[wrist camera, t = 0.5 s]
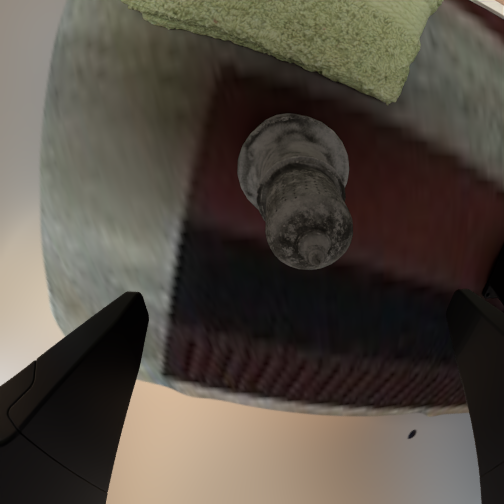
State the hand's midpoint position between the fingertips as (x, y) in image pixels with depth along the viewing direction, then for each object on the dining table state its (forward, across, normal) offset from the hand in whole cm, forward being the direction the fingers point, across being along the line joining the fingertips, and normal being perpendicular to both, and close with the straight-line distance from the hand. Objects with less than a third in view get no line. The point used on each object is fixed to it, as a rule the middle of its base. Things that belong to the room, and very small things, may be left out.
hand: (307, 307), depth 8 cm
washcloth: (+14, -1, -13) cm, 19 cm away
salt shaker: (+13, 0, -1) cm, 13 cm away
